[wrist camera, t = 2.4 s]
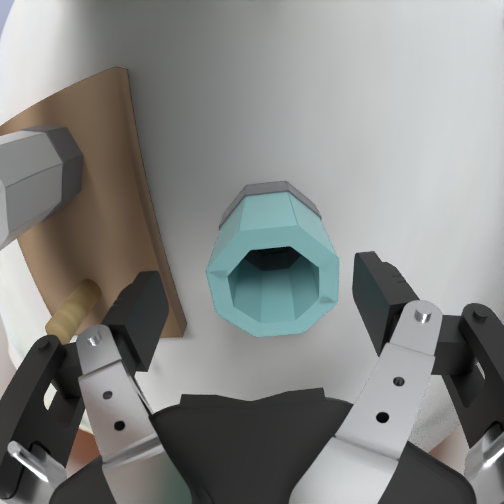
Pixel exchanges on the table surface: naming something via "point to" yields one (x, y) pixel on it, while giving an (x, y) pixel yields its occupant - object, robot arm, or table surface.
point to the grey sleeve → (36, 177)
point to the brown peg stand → (96, 211)
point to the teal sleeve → (273, 262)
